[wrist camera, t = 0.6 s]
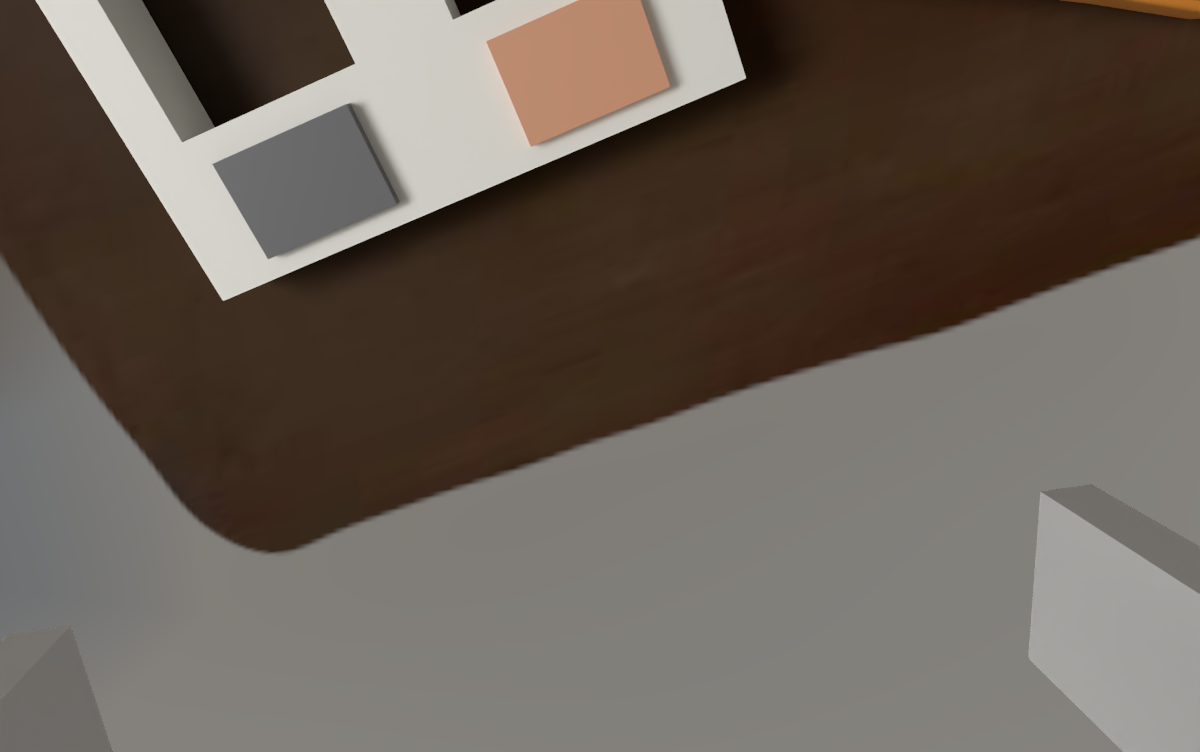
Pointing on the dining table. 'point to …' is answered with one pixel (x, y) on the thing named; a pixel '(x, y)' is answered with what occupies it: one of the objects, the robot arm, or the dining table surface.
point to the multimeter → (1153, 6)
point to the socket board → (388, 114)
